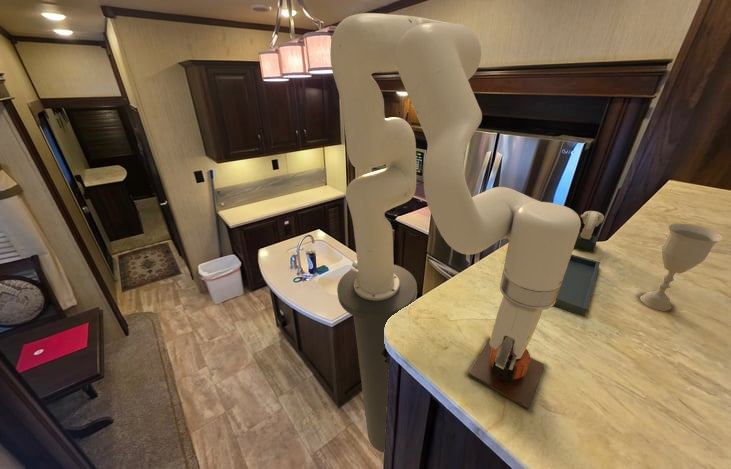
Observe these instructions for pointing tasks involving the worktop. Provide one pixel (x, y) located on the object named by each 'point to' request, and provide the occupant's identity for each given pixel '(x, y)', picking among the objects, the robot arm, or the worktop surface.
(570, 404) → the worktop surface
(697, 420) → the worktop surface
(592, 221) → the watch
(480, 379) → the stand
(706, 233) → the chalice
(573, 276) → the tray
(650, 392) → the worktop surface
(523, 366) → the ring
